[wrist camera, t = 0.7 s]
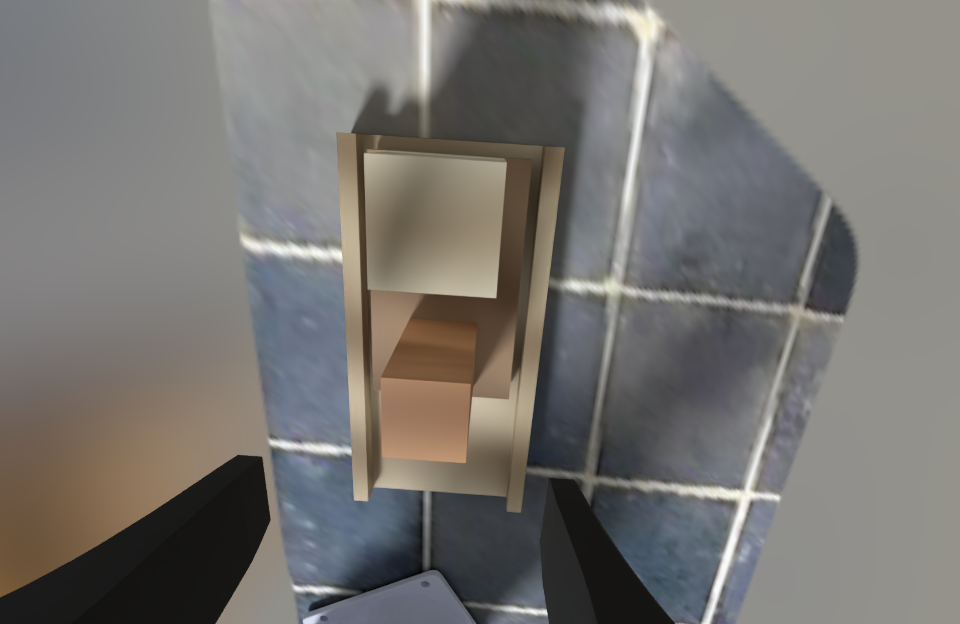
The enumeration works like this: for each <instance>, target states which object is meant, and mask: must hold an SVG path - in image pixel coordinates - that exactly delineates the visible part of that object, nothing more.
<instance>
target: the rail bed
mask: <svg viewBox="0 0 960 624" xmlns="http://www.w3.org/2000/svg"><path fill="white" fill-rule="evenodd" d="M367 149H383V150H399V151H414V152H429V153H444V154H459V155H474V156H489V157H505V158H520V159H531V160H532V166H531V176H530V187H529V197H528V207H527V217H526V228H525V238H524V248H523V259H522V269H521V279H520V290H519V300H518V310H517V321H516V331H515V341H514V352H513V362H512V372H511V382H510V393H509V399H495V398H481V397H472V405H471V415H470V426H469V436H468V447H467V457H466V463H456V462H443V461H429V460H415V459H402V458H388V457H382V429H381V390H373V366H372V327H371V290H369V289H368V283H367V247H366V212H365V176H364V153H367ZM564 150H565V147H551V146H535V145H520V144H505V143H489V142H474V141H459V140H444V139H428V138H413V137H398V136H383V135H367V134H353V133H337V152H338V173H339V194H340V215H341V236H342V257H343V278H344V299H345V320H346V341H347V362H348V383H349V404H350V425H351V446H352V467H353V488H354V500H357V501H368V500H369V497H370V495H371V492H372V489H373V487H381V488H395V489H409V490H422V491H436V492H449V493H463V494H476V495H490V496H503V497H506V501H507V512H519V513H521V508H522V500H523V491H524V483H525V475H526V466H527V458H528V450H529V441H530V433H531V425H532V416H533V408H534V400H535V391H536V383H537V375H538V366H539V358H540V350H541V342H542V333H543V325H544V317H545V308H546V300H547V292H548V283H549V275H550V267H551V258H552V250H553V242H554V233H555V225H556V217H557V209H558V200H559V192H560V184H561V175H562V167H563V159H564Z"/></svg>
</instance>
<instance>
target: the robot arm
mask: <svg viewBox="0 0 960 624" xmlns="http://www.w3.org/2000/svg"><path fill="white" fill-rule="evenodd" d="M269 522H270V512H269V505H268V497H267V490H266V482H265V474H264V467H263V460H262V457H258V456H245V455H237V456H236V457H234V458H232V459H231V460H229V461H228V462H226V463H225V464H223V465H222V466H220V467H219V468H217V469H216V470H214V471H213V472H211V473H210V474H208V475H207V476H205V477H204V478H202V479H201V480H199V481H198V482H196V483H195V484H193V485H192V486H190V487H189V488H188V489H186V490H184V491H183V492H182V493H180V494H178V495H177V496H176V497H174V498H172V499H171V500H170V501H168V502H166V503H165V504H163V505H162V506H161V507H159V508H158V509H156V510H155V511H153V512H151V513H150V514H148V515H147V516H145V517H143V518H142V519H140V520H138V521H137V522H135V523H134V524H132V525H131V526H129V527H127V528H126V529H124V530H122V531H121V532H119V533H117V534H116V535H114V536H113V537H111V538H109V539H108V540H107V541H105V542H103V543H101V544H100V545H98V546H96V547H95V548H93V549H91V550H89V551H88V552H86V553H84V554H82V555H81V556H79V557H77V558H75V559H74V560H72V561H70V562H68V563H66V564H64V565H63V566H61V567H59V568H57V569H55V570H53V571H52V572H50V573H48V574H46V575H44V576H42V577H40V578H39V579H37V580H35V581H33V582H31V583H29V584H27V585H25V586H23V587H21V588H19V589H17V590H15V591H13V592H11V593H9V594H7V595H5V596H3V597H0V624H215V623H216V622H217V620H218V618H219V617H220V615H221V613H222V612H223V610H224V608H225V607H226V605H227V603H228V602H229V600H230V598H231V597H232V595H233V593H234V592H235V590H236V588H237V586H238V585H239V583H240V581H241V580H242V578H243V576H244V575H245V573H246V571H247V569H248V568H249V566H250V564H251V562H252V561H253V558H254V556H255V554H256V552H257V550H258V548H259V545H260V543H261V541H262V539H263V536H264V534H265V532H266V529H267V527H268V525H269ZM540 545H541V563H542V579H543V588H544V594H545V601H546V607H547V613H548V619H549V624H675V623H674V622H673V620H672V619H671V618H670V617H669V616H668V615H667V614H666V612H665V611H664V610H663V609H662V607H661V606H660V605H659V604H658V603H657V601H656V600H655V599H654V598H653V596H652V595H651V594H650V592H649V591H648V590H647V589H646V587H645V586H644V585H643V583H642V582H641V581H640V579H639V578H638V577H637V575H636V574H635V573H634V571H633V570H632V569H631V567H630V566H629V564H628V563H627V562H626V560H625V559H624V557H623V556H622V555H621V553H620V552H619V550H618V549H617V547H616V546H615V544H614V543H613V541H612V540H611V538H610V537H609V535H608V534H607V532H606V531H605V529H604V528H603V526H602V525H601V523H600V521H599V520H598V518H597V517H596V515H595V513H594V512H593V510H592V508H591V507H590V505H589V503H588V502H587V500H586V498H585V496H584V495H583V493H582V491H581V489H580V488H579V486H578V484H577V483H576V482H575V481H574V480H570V479H557V478H549V483H548V490H547V497H546V504H545V511H544V518H543V525H542V532H541V539H540ZM303 624H476V622H475V621H474V620H473V618H472V617H471V615H470V614H469V613H468V611H467V610H466V608H465V607H464V605H463V604H462V603H461V601H460V600H459V598H458V597H457V596H456V594H455V593H454V591H453V590H452V588H451V587H450V586H449V584H448V583H447V581H446V580H445V579H444V577H443V576H442V574H441V573H440V572H439V571H436V570H430V571H427V572H424V573H421V574H418V575H415V576H412V577H409V578H407V579H404V580H401V581H398V582H395V583H392V584H389V585H386V586H383V587H380V588H377V589H374V590H372V591H369V592H366V593H363V594H360V595H357V596H354V597H351V598H348V599H345V600H342V601H340V602H337V603H334V604H331V605H328V606H325V607H322V608H319V609H316V610H313V611H310V612H308V613H306V614H305V616H304V619H303Z"/></svg>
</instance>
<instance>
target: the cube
mask: <svg viewBox="0 0 960 624" xmlns="http://www.w3.org/2000/svg"><path fill="white" fill-rule="evenodd" d="M506 166H507V162H506V160H505V158H494V157H479V156H464V155H449V154H434V153H418V152H403V151H386V152H373V153H364V176H365V212H366V247H367V283H368V289H369V290H384V291H398V292H412V293H427V294H441V295H456V296H470V297H485V298H496V294H497V281H498V268H499V255H500V243H501V230H502V217H503V204H504V191H505V179H506Z"/></svg>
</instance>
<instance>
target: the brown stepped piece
mask: <svg viewBox="0 0 960 624" xmlns="http://www.w3.org/2000/svg"><path fill="white" fill-rule="evenodd" d="M386 151H399V150H383V149H367V153H373V152H386ZM403 152H414V151H403ZM418 153H429V152H418ZM434 154H444V153H434ZM449 155H459V154H449ZM464 156H474V155H464ZM479 157H489V156H479ZM494 158H505V157H494ZM505 160H506V162H507V166H506V179H505V191H504V204H503V217H502V230H501V243H500V255H499V268H498V281H497V294H496V298H485V297H470V296H456V295H441V294H427V293H412V292H398V291H384V290H371V327H372V366H373V390H381V429H382V457H388V458H402V459H415V460H429V461H443V462H456V463H466V457H467V447H468V436H469V426H470V415H471V405H472V397H481V398H495V399H509V393H510V382H511V372H512V362H513V352H514V341H515V331H516V321H517V310H518V300H519V290H520V279H521V269H522V259H523V248H524V238H525V228H526V217H527V207H528V197H529V187H530V176H531V166H532V160H531V159H520V158H505Z"/></svg>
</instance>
